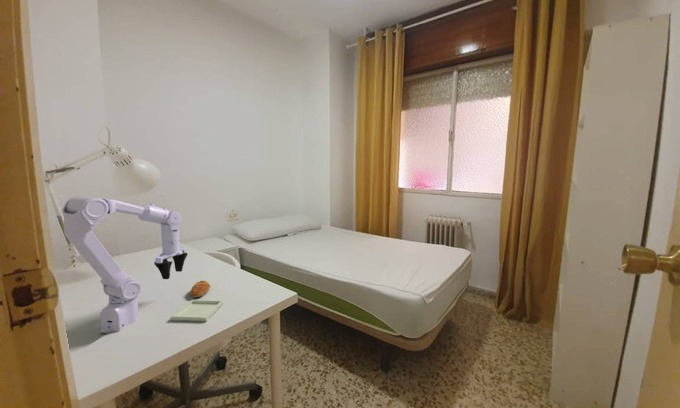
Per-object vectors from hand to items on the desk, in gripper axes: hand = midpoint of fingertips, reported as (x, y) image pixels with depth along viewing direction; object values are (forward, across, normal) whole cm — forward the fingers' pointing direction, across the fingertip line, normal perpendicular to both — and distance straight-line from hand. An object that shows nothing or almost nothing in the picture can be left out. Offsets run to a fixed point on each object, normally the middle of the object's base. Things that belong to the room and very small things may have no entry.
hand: (172, 274), depth 102 cm
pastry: (+11, +3, -6) cm, 12 cm away
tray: (+10, -9, -15) cm, 20 cm away
